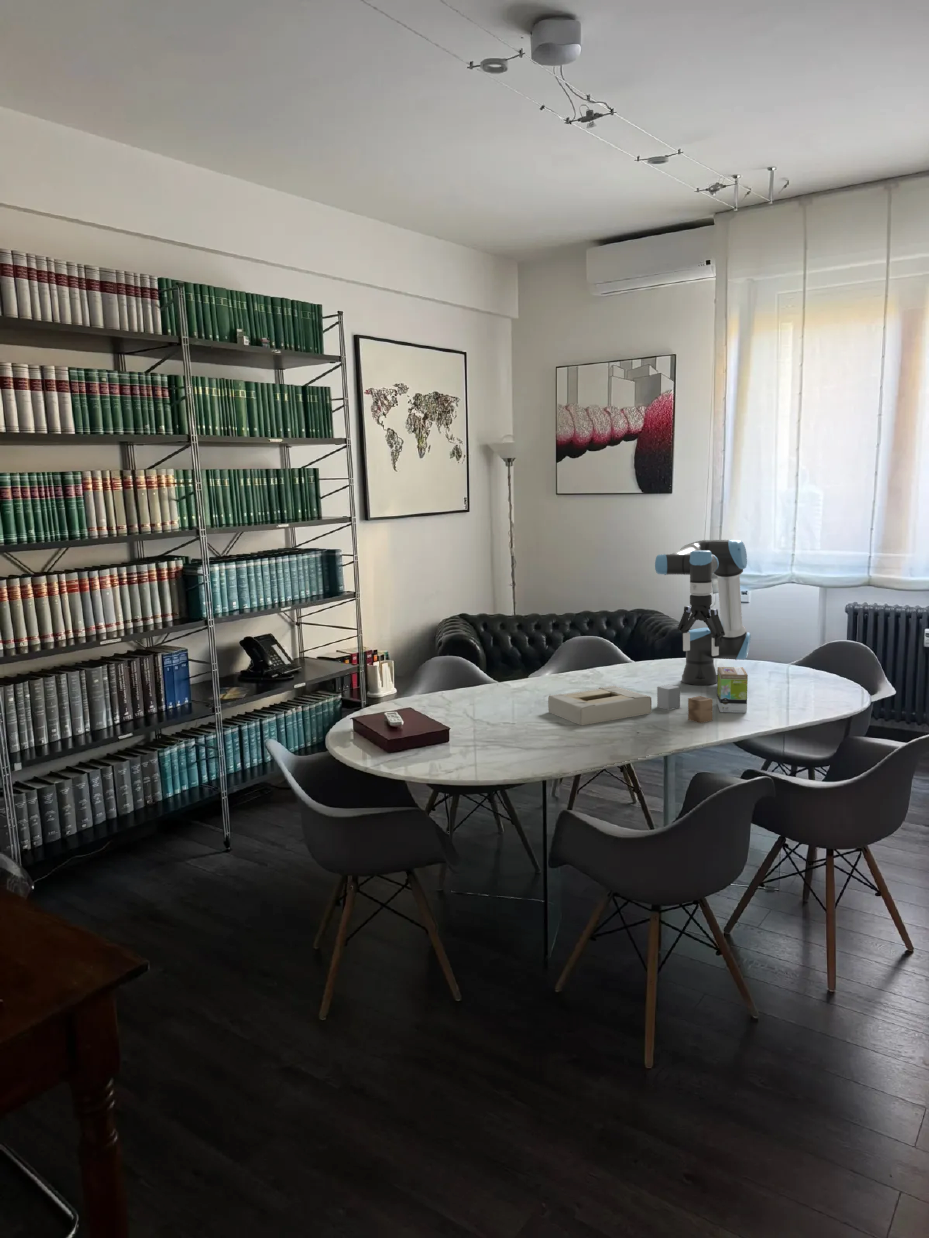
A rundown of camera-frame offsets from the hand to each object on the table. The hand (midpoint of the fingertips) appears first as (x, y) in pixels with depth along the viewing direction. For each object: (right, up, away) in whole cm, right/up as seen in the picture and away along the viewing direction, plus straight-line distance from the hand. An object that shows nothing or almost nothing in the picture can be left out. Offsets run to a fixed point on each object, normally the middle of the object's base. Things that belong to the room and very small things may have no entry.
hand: (700, 653), depth 307 cm
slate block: (-6, -22, +24) cm, 33 cm away
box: (-33, -24, +19) cm, 45 cm away
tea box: (+17, -22, +19) cm, 34 cm away
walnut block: (+1, -24, +3) cm, 25 cm away
